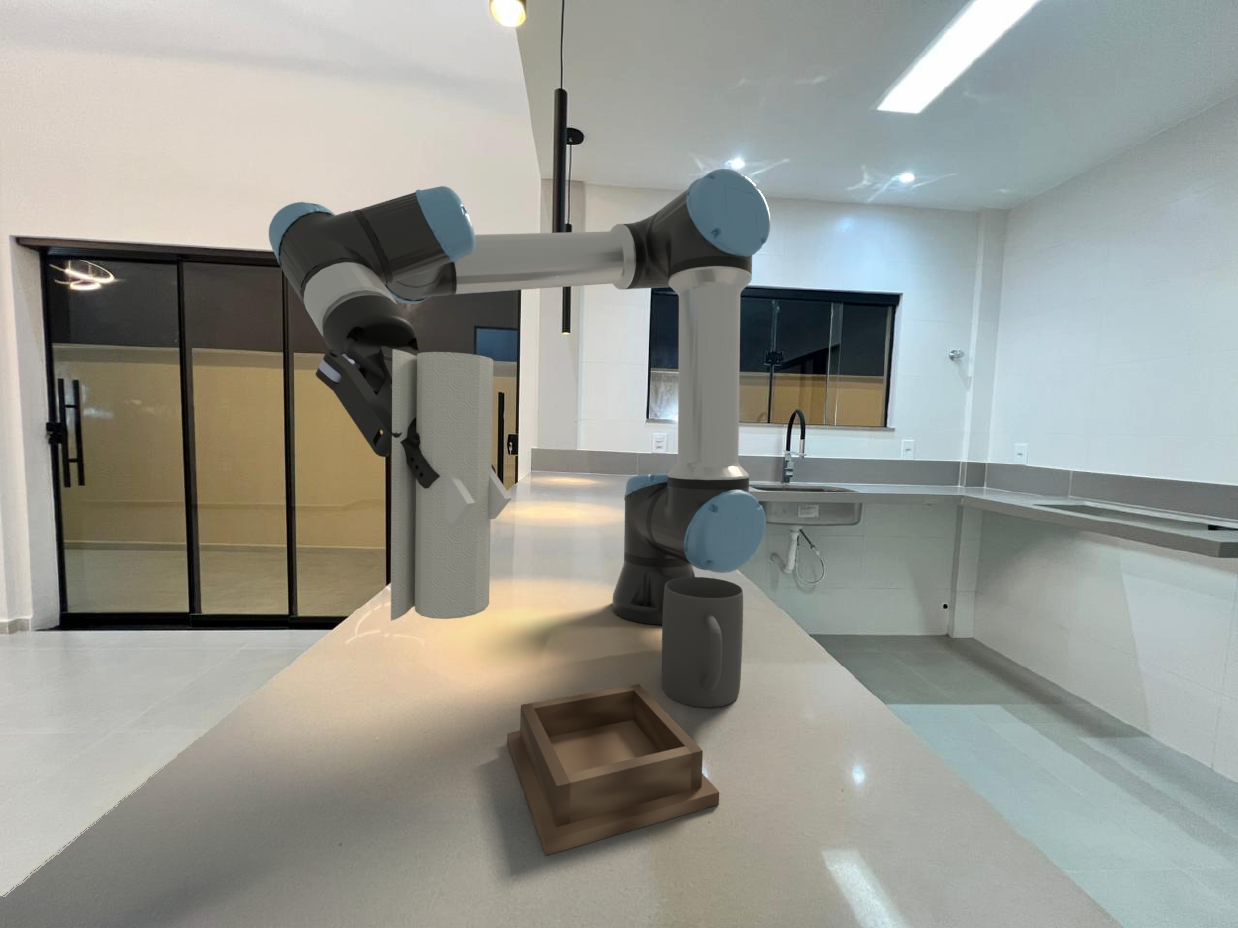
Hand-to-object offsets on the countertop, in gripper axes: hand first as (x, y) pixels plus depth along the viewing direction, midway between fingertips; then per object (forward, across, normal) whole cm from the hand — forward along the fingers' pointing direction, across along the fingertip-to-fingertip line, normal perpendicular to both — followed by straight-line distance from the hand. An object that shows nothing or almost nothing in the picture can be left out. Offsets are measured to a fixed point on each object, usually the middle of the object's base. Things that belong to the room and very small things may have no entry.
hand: (482, 511), depth 42 cm
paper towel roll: (+3, 0, -9) cm, 10 cm away
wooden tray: (+21, -7, -11) cm, 25 cm away
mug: (+23, -24, -10) cm, 34 cm away
